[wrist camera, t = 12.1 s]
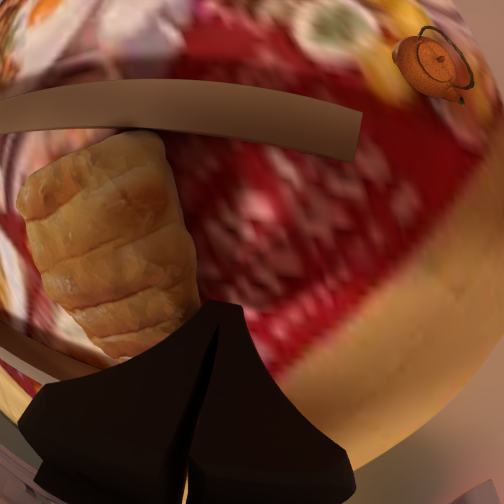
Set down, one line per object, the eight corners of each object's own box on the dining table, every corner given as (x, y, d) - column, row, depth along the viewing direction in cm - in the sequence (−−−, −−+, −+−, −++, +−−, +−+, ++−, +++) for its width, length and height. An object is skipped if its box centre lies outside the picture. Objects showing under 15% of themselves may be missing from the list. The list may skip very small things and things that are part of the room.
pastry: (243, 338, 12) (234, 407, 8) (120, 355, 13) (89, 407, 9) (166, 116, 9) (111, 101, 5) (43, 184, 10) (-18, 202, 6)
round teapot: (442, 47, 7) (477, 32, 4) (451, 110, 8) (492, 105, 5) (385, 30, 7) (414, 4, 5) (394, 97, 8) (430, 84, 6)
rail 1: (335, 160, 9) (353, 162, 7) (-55, 145, 8) (-73, 149, 6) (343, 120, 8) (362, 112, 6) (-53, 126, 8) (-71, 128, 6)
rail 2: (258, 422, 14) (257, 450, 12) (-35, 309, 13) (-48, 319, 11) (263, 408, 13) (263, 437, 11) (-40, 294, 13) (-53, 304, 11)
